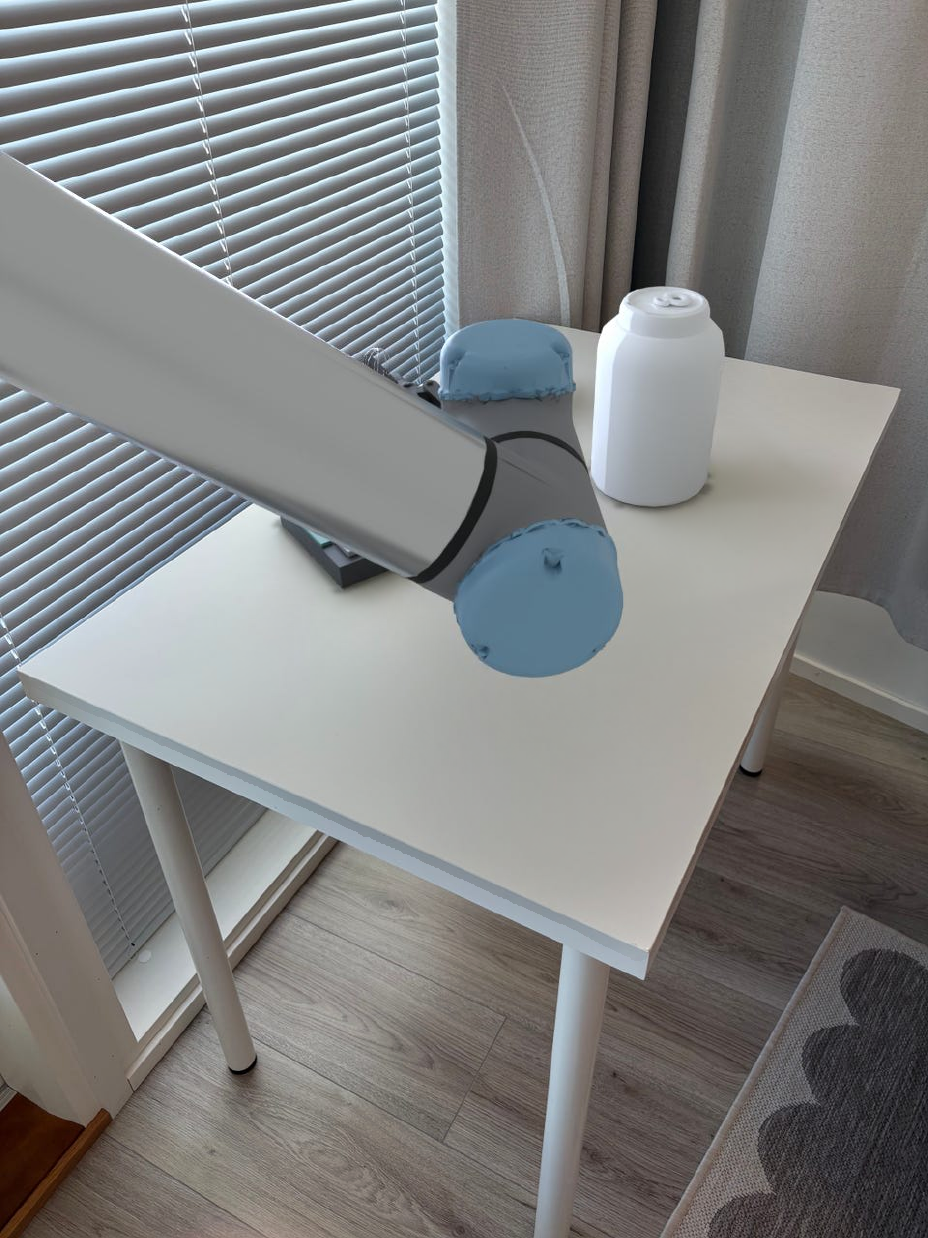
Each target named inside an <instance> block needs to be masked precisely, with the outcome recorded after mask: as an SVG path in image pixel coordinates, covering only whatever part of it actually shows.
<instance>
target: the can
mask: <svg viewBox="0 0 928 1238" xmlns="http://www.w3.org/2000/svg"><path fill="white" fill-rule="evenodd" d="M724 341H725V340H724V334H723V331H722V329H721V328H720V327H719V326H718V325H717V323H715V321H714V320H713V319H712V318H711V307H710V304H709V301H708V300H707V298H706V297H705V296H704V295H703V294H700V293H698V292H696V291H694V290H691V289H687V288H684V287H675V286H662V285H661V286H650V287H644V288H640V289H636V290H634V291H631V292H629V293H627V294H626V295H625V296H624V297H623V299H622V301H621V303H620V305H619V309H618V314H616V315H615V316H614V317H613V318H611V319H610V320H609V321H608V322H607V323H605V325H604V326H603V328H602V330H601V334H600V337H599V340H598V345H597V350H596V368H595V386H594V402H593V403H594V404H593V423H592V439H591V456H590V457H591V459H590V475H591V477H592V480H593V482H594V485H595V486H596V487H597V488H598V490H600V491H601V492H602V493H603V494H604V495H606V496H607V497H610V498H612V499H614V500H616V501H619V502H622V503H625V504H630V505H633V506H642V507H653V508H654V507H664V506H665V507H666V506H673V505H676V504H679V503H683V502H686V501H689V500H690V499H692V498H693V497H694V496H696V495H698V494H699V493H700V491H701V489H702V488H703V487H704V485H705V483H707V481H708V473H709V467H710V459H711V452H712V447H713V439H714V434H715V433H714V432H715V426H716V419H717V413H718V404H719V398H720V392H721V384H722V376H723V371H724V363H725V356H726V351H725V349H726V348H725V347H726V346H725V342H724Z"/></svg>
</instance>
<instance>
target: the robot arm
mask: <svg viewBox="0 0 928 1238" xmlns="http://www.w3.org/2000/svg"><path fill="white" fill-rule="evenodd" d="M573 353H574V352H573V348H572V345H571V343H570V341H569V339H568V338H567V337H566V336H565V334H563V332H561V331H559V330H558V329H556V328H555V327H552V326H550V325H548V324H545V323H542V322H538V321H534V320H529V319H521V318H519V319H518V318H505V319H501V318H500V319H492V320H491V319H490V320H485V321H480V322H476V323H473V324H470V325H467V326H465V327H463V328H461V329H459V330H457V331H456V332H453V333H452V334H451V335H450V336H449V337H448V338H447V340H446V341H445V342H444V343H443V345H442V348H441V350H440V355H439V383H438V381H436V380H435V379H427V380H424V381H422V385H415V383H414V382H412V381H407V380H406V379H405V378H404V376H402V375H401V374H400V373H398V372H391V373H390V374H389V371H388V370H387V376H386V368H385V372H384V366H383V365H382V364H381V363H380V362H379V360H378V359H376V360H375V356H373V354H372V353H368V354H365V355H366V356H367V359H366V356H365V355H362V362H361V361H359V360H357V359H356V358H355V357H353V356H351V355H349V354H348V353H345V352H344V351H343V350H341V349H339V348H337V347H336V346H334V345H332V344H331V343H328V341H325V340H324V339H322V338H320V337H318V336H317V335H315V334H314V333H312V332H311V331H308V330H306V329H305V328H303V327H301V326H300V325H298V324H297V323H295V322H293V321H291V320H290V319H288V318H286V317H285V316H284V315H283V316H282V315H281V314H279V313H278V312H276V311H274V310H273V309H272V308H269V307H267V306H265V305H264V304H262V303H261V302H259V301H257V300H255V299H254V298H252V297H250V296H249V295H247V294H245V293H243V292H242V291H241V290H238V289H237V288H235V287H234V286H232V285H230V284H229V283H226V282H225V281H224V280H221V278H218V277H216V276H215V275H213V274H211V273H209V272H207V271H206V270H204V269H203V268H201V267H199V266H197V265H196V264H194V263H192V262H191V261H189V260H188V259H186V258H184V257H182V256H180V255H179V254H177V253H176V252H174V251H172V250H170V249H169V248H167V247H165V246H164V245H162V244H160V243H159V242H157V241H155V240H153V239H151V238H150V237H148V236H146V235H145V234H143V233H142V232H140V231H138V230H137V229H136V228H135V229H134V228H133V227H131V226H130V225H127V224H126V223H125V222H123V221H121V220H119V219H118V218H116V217H114V216H112V215H111V214H109V213H108V212H105V211H104V210H102V209H101V208H99V207H97V206H95V205H94V204H92V203H90V202H88V201H87V200H85V199H84V198H82V197H80V196H79V195H77V194H75V193H73V192H72V191H70V190H68V189H66V188H65V187H63V186H61V184H58V183H56V182H54V180H51V179H50V178H48V177H46V176H45V175H43V174H41V173H39V172H38V171H36V170H34V169H33V168H31V167H29V166H27V165H25V163H22V162H21V161H19V160H18V159H16V158H14V157H12V156H10V155H9V154H7V153H5V152H3V151H2V150H0V380H1V381H4V382H5V383H8V384H10V385H11V386H14V387H16V388H17V389H19V390H22V391H24V392H26V393H28V394H29V395H31V396H34V397H36V398H38V399H40V400H42V401H44V402H46V403H47V404H50V405H53V406H54V407H56V408H59V409H60V410H62V411H65V412H67V413H69V414H70V415H73V416H74V417H77V418H79V419H81V420H82V421H85V422H87V423H88V424H91V425H93V426H95V427H97V428H99V429H101V430H103V431H105V432H107V433H110V434H111V435H114V436H115V437H118V438H119V439H122V440H123V441H126V442H128V443H130V444H132V445H134V446H136V447H138V448H140V449H142V450H144V451H146V452H148V453H150V454H152V455H154V456H157V457H158V458H160V459H162V460H164V461H166V462H169V463H170V464H172V465H174V466H177V467H179V468H181V469H183V470H185V471H186V472H189V473H191V474H193V475H194V476H196V477H199V478H201V479H203V480H205V481H207V482H209V483H211V484H213V485H215V486H217V487H220V488H222V489H224V490H226V491H228V492H230V493H232V494H233V495H235V496H237V497H240V498H242V499H244V500H246V501H248V502H250V503H252V504H254V505H256V506H258V507H260V508H262V509H264V510H266V511H268V512H270V513H273V514H275V515H276V516H278V517H280V516H281V517H283V518H285V519H287V520H289V521H291V522H293V523H295V524H297V525H299V526H301V527H303V528H305V529H307V530H309V531H311V532H313V533H315V534H317V535H319V536H321V537H323V538H325V539H327V540H329V541H331V542H334V543H336V544H338V545H340V546H342V547H344V548H346V549H348V550H350V551H352V552H354V553H356V554H358V555H360V556H362V557H364V558H366V559H368V560H370V561H372V562H374V563H376V564H378V565H380V566H382V567H384V568H387V569H389V570H388V571H391V572H393V573H394V574H397V575H399V576H401V577H403V578H405V579H407V580H409V581H411V582H413V583H415V584H417V585H418V586H420V587H421V588H423V589H425V590H427V591H429V592H431V593H433V594H436V595H438V596H440V597H441V598H444V599H446V600H448V601H450V602H452V603H453V606H452V610H453V614H454V615H455V617H456V623H457V625H458V626H459V629H460V632H461V635H462V637H463V639H464V641H465V643H466V645H467V647H468V649H470V650H471V651H472V653H473V654H474V655H475V656H477V658H478V661H480V662H481V663H483V664H484V665H485V666H487V667H489V668H491V669H493V670H494V671H497V672H499V673H501V674H505V675H508V676H512V677H519V678H531V679H538V678H548V677H554V676H557V675H558V676H559V675H562V674H565V673H567V672H570V671H573V670H575V669H577V668H580V667H581V666H583V665H584V664H586V663H588V662H590V661H591V660H592V659H593V658H594V657H596V656H597V655H598V654H599V652H601V651H603V650H604V648H606V645H607V644H608V643H609V642H611V640H612V638H614V635H615V634H616V632H617V630H618V628H619V626H620V623H621V621H622V620H621V619H622V616H623V610H624V592H623V587H622V583H621V578H620V571H619V567H618V551H617V547H616V544H615V542H614V539H613V537H612V536H611V535H610V533H609V530H608V528H607V525H606V522H605V519H604V516H603V514H602V510H601V507H600V504H599V502H598V498H597V496H596V492H595V490H594V487H593V483H592V479H591V477H590V473H589V469H588V465H587V463H586V459H585V455H584V452H583V450H582V446H581V443H580V440H579V437H578V433H577V431H576V427H575V424H574V417H573V403H574V402H573V401H574V400H573V399H574V393H575V392H576V390H577V383H576V381H574V363H573V362H574V361H573V360H574V359H573V357H574V356H573ZM371 354H372V355H371ZM364 356H365V357H364ZM370 356H371V357H370ZM369 358H370V360H369ZM363 359H364V361H363ZM368 361H369V363H368ZM365 363H366V365H365ZM374 365H375V370H374ZM377 366H378V372H377ZM383 375H384V376H383ZM388 377H389V379H388Z"/></svg>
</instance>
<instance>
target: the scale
mask: <svg viewBox="0 0 928 1238" xmlns="http://www.w3.org/2000/svg"><path fill="white" fill-rule="evenodd" d="M279 517H280V523H281V524H282V526H283V527H284V528H285V529H286V530H287V531H288V532H289V533H290V534H291V536H293V537H294V539H295V540H296V541H297V542H298V543H299V544H300V545H301V546H302V547H303V548H304V549H305V550H306V551H307V552H308V553H309V554H310V555H311V557H312V558H314V560H315V561H316V562H317V563H318V564H319V566H321V568H323V570H324V571H325V572H326V573H327V574H328V575H329V576H330V577H331V578H332V579H333V581H335V582H336V584H338V586H339V587H340V588H341V589H342V590H343V589H346V588H349V587H351V586H353V585H356V584H359V583H361V582H363V581H366V580H369V579H371V578H373V577H376V576H378V575H381V574H384V573H387V572H388V571H390V570H389V569H387V568H384V567H382V566H380V565H378V564H376V563H374V562H372V561H370V560H368V559H366V558H364V557H362V556H360V555H358V554H356V553H354V552H352V551H350V550H348V549H346V548H344V547H342V546H340V545H338V544H336V543H334V542H331V541H329V540H327V539H325V538H323V537H321V536H319V535H317V534H315V533H313V532H311V531H309V530H307V529H305V528H303V527H301V526H299V525H297V524H295V523H293V522H291V521H289V520H287V519H285V518H283V517H281V516H279Z"/></svg>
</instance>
